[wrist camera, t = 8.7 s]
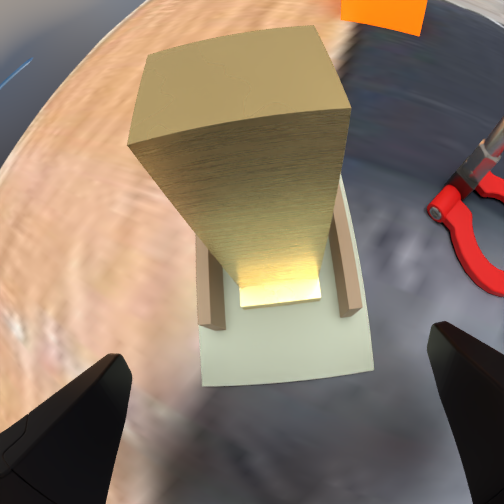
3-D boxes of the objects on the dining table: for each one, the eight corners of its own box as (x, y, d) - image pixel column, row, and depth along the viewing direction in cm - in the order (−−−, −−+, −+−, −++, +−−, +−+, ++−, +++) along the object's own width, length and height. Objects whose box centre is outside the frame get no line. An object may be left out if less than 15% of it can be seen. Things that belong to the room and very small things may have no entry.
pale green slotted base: (371, 369, 15) (390, 372, 12) (205, 385, 16) (182, 391, 13) (334, 159, 19) (339, 123, 16) (199, 177, 20) (181, 145, 17)
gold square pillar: (319, 301, 16) (367, 153, 4) (244, 309, 17) (120, 191, 5) (306, 214, 18) (305, 8, 6) (237, 223, 18) (153, 35, 7)
